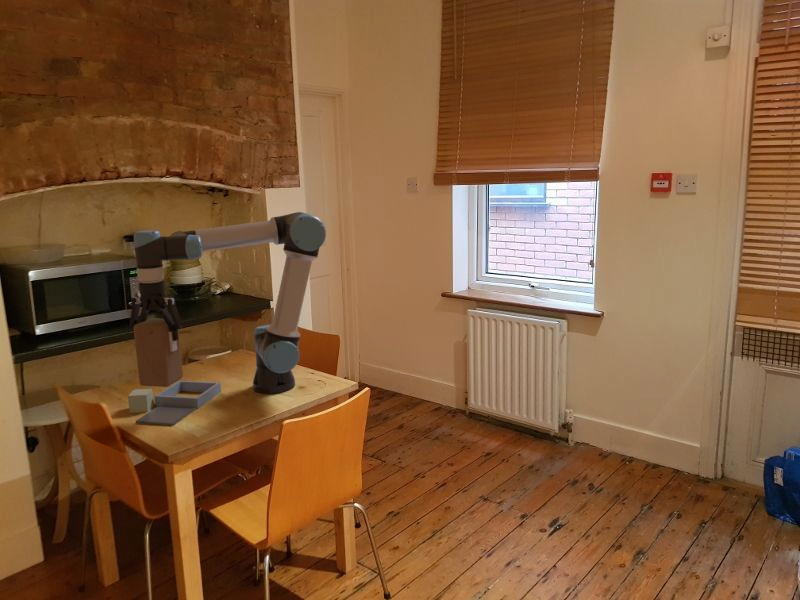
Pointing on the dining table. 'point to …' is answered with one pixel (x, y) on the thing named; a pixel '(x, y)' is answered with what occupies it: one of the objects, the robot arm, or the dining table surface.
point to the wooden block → (156, 354)
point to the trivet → (165, 415)
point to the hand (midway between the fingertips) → (158, 349)
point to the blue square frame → (191, 402)
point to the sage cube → (140, 400)
